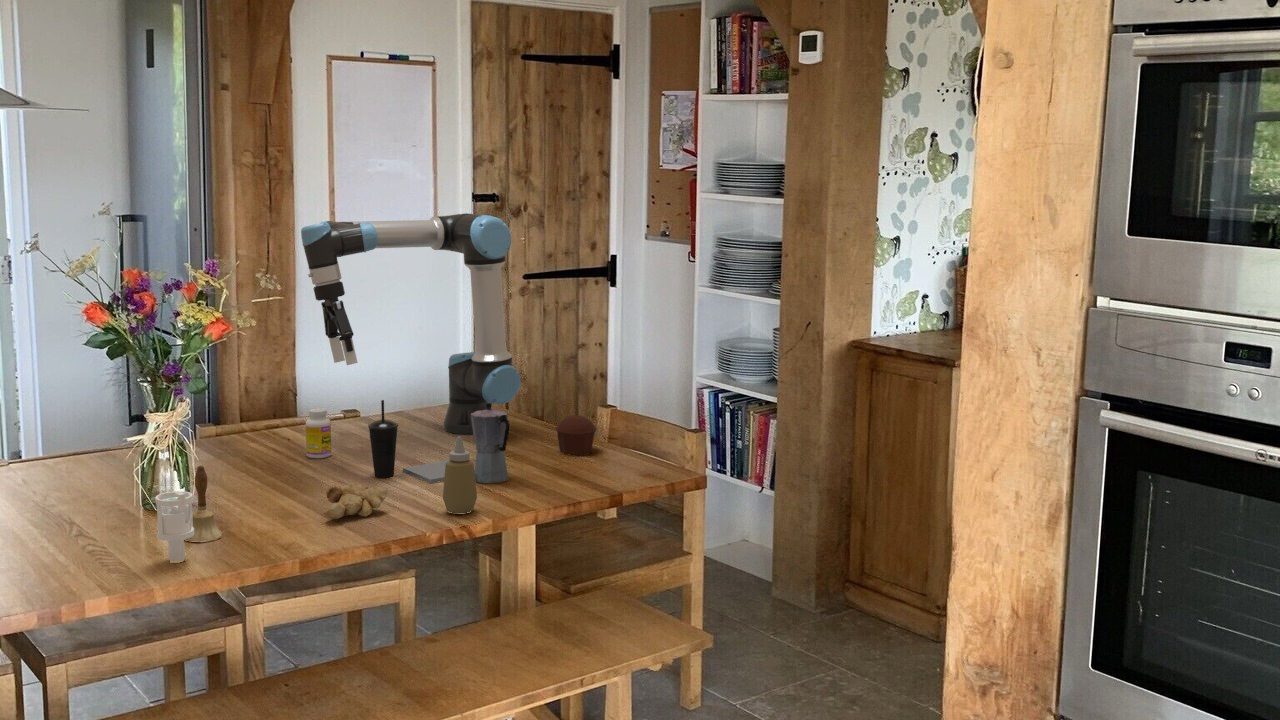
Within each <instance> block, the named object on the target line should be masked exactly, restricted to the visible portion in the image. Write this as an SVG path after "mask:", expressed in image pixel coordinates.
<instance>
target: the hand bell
mask: <svg viewBox="0 0 1280 720" xmlns="http://www.w3.org/2000/svg"><path fill="white" fill-rule="evenodd" d="M194 486H195V490H196V492H197V510H196V511H194V512H192V518H193V527H194V535H193V536H192V537H190V538H187V539H186V540H189V541H204V540H210V539H215V538H218V537H220V536H221V535H222V533H223V532H222V530H220V529H219V528H218V527H217V524H216V521H215V518H214V513H213V512H212V511H211V510H208V509H207V499H206V498H207V497H206V494H207V489H208V475H207V472H206V470H205V466H204V465H197V467H196V472H195V475H194Z"/></svg>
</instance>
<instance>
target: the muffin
mask: <svg viewBox="0 0 1280 720" xmlns="http://www.w3.org/2000/svg"><path fill="white" fill-rule="evenodd" d="M555 431H556V434H557V441H558V447H559V448H558V449H559V452H562V453H561V454H563V453H564V454H563V455H565V454H570V455H569V456H573V455H576V456H585V455H584V454H586V455H588V454H587V453H590V454H592V453H591V452H592V450H593V446H594V439H595V433H596V432H597V428H596V426H595V425H594V424H593V422H592V421H591V420H590V419H589V418H587V417H586V416H583V415H578V414H577V415H576V414H575V415H569V416H566V417H564V418H562V420H560V422H559V423H558V425H557V426H556V427H555Z"/></svg>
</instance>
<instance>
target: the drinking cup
mask: <svg viewBox="0 0 1280 720" xmlns="http://www.w3.org/2000/svg"><path fill="white" fill-rule="evenodd" d="M380 400H381V399H380ZM380 404H381V406H380V407H381V411H380V412H381V419H377V420H374V421H373V422H370V423H368V424H367V428H368V431H369V437H370V438H369V439H370V449H371V454H372V455H371V457H372V465H373V473H374V477H375V479H380V480H381V479H383V480H386V479H387V478H388V479H391V478H393V477H395V476H394V475H395V462H396V453H397V452H396V450H397V449H396V448H397V435H398V427H399V423H397V422H395V421H393V420H390V419H385V400H384V399H382V400H381V401H380Z"/></svg>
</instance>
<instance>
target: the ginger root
mask: <svg viewBox="0 0 1280 720" xmlns="http://www.w3.org/2000/svg"><path fill="white" fill-rule="evenodd" d="M327 489H328V490H326V492H325V495H326V499H327V501H328V502H329V503H331V504H330V505H329V507H327V508H326V509H325V510H324V512H323V515H324V516H325V517H329V518H331V519H335V520H336V519H341V518H342V517H346V516H347V517H348V515H351V516H354V515H356V514H358V515H359V516H361V517H369V516H370V515H371V514H372V513H373V509H379V508H380V507H381V506H382V503H383V501H384V500H386V497H387V495H388V492H389V491H388V489H387V487H386V488H385V487H379V486H377V487H369V486H368V485H364V484H360V483H352V484H345V485H342V486H339V485H335V484H334V485H331V486H330V487H328V488H327ZM368 515H369V516H368Z"/></svg>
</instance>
